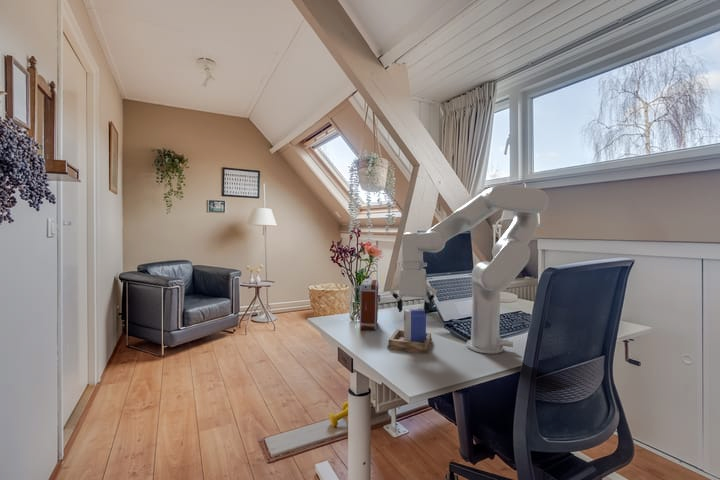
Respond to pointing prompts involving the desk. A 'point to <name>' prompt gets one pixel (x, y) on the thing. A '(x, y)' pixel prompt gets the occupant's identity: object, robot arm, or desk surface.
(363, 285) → the cine camera
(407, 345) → the wooden tray
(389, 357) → the desk surface
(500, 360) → the desk surface
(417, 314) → the walkman
